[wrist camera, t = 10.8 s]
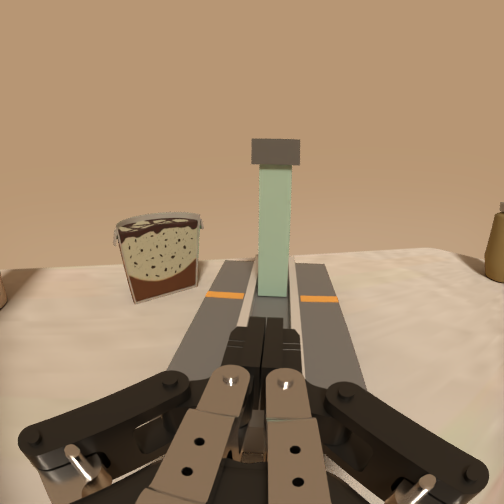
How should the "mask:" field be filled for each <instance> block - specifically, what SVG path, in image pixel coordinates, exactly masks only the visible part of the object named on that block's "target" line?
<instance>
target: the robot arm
mask: <svg viewBox="0 0 504 504" xmlns="http://www.w3.org/2000/svg"><path fill="white" fill-rule="evenodd" d="M6 301H7V296H6V292H5V289H4V285H3V281H2V278H1V273H0V308H2V307H3V306H4V305H5V303H6ZM260 392H261V398H260ZM259 400H260V410H264V425H263V462H258V463H249V464H247V463H242V462H241V457H242V453H243V450H244V446H245V442H246V438H247V434H248V430H249V426H250V420H251V417H252V411H253V410H258V409H259ZM158 416H161V417H159V418H157V419H155V420H153V421H151V422H149V423H147V424H145V425H143V426H141V427H139V428H137V427H138V426H140V425H142V424H144V423H146V422H148V421H150V420H152V419H154V418H156V417H158ZM135 428H137V429H135ZM18 446H19V448H20V450H21V451H22V452H23V453H24V455H25V456H26V457H27V458H28V459H29V460H30V462H31V464H32V465H33V466H34V467H35V468H36V470H37V471H38V472H39V475H40V477H41V480H42V482H43V485H44V487H45V489H46V492H47V494H48V496H49V498H50V501H51V503H52V504H370V503H369V502H368V501H366V500H365V499H364V498H363V497H362V496H361V495H359V494H358V493H357V492H356V491H355V490H354V489H352V488H351V487H350V486H349V485H348V484H347V483H346V482H344V481H343V480H342V479H340V478H339V477H337V476H336V475H334V474H332V473H330V472H327V471H326V469H325V463H324V457H323V453H324V454H326V455H327V456H328V457H329V458H330V459H331V460H333V461H334V462H335V463H336V464H337V465H338V466H340V467H341V468H342V469H343V470H344V471H346V472H347V473H348V474H349V475H351V476H352V477H353V478H354V479H356V480H357V481H358V482H359V483H361V484H362V485H363V486H364V487H366V488H367V489H368V490H370V491H371V492H372V493H374V494H375V495H376V496H378V497H379V498H380V499H382V500H383V501H384V502H385V503H384V504H467V503H468V502H469V501H470V500H471V499H472V498H474V497H475V496H476V495H477V494H478V493H479V492H480V491H482V490H483V489H484V488H485V486H486V485H487V483H488V480H489V471H488V469H487V467H486V465H485V464H484V463H483V462H481V461H480V460H478V459H476V458H474V457H473V456H471V455H469V454H467V453H466V452H464V451H462V450H460V449H459V448H457V447H455V446H453V445H452V444H450V443H448V442H447V441H445V440H443V439H442V438H440V437H438V436H437V435H435V434H433V433H432V432H430V431H428V430H427V429H425V428H424V427H422V426H420V425H419V424H417V423H416V422H414V421H412V420H411V419H409V418H408V417H406V416H404V415H403V414H401V413H400V412H398V411H397V410H395V409H393V408H392V407H390V406H389V405H387V404H386V403H384V402H383V401H381V400H380V399H378V398H377V397H375V396H374V395H372V394H371V393H369V392H368V391H366V390H365V389H363V388H362V387H360V386H359V385H357V384H355V383H352V382H347V381H342V382H336V383H334V384H332V385H330V386H329V387H328V389H326V388H321V387H318V386H315V385H312V384H311V383H309V382H308V381H307V380H306V379H305V378H304V376H303V373H302V360H301V345H300V335H299V334H298V333H297V331H296V330H295V329H283V318H280V317H267V324H266V317H257V316H250V317H249V322H248V326H247V327H242V326H237V327H236V328H235V329H234V330H233V331H232V332H231V333H230V336H229V341H228V343H227V347H226V350H225V353H224V356H223V360H222V363H221V366H220V367H219V368H217V369H216V370H214V371H213V373H212V375H211V377H209V378H207V379H202V380H193V381H189V378H188V377H187V376H186V375H185V374H184V373H182V372H179V371H174V370H169V371H164V372H161V373H159V374H156V375H154V376H152V377H150V378H148V379H145V380H143V381H141V382H139V383H137V384H134V385H132V386H130V387H127V388H125V389H123V390H121V391H118V392H116V393H114V394H111V395H109V396H106V397H104V398H102V399H99V400H97V401H94V402H92V403H89V404H87V405H84V406H82V407H79V408H77V409H74V410H72V411H69V412H66V413H64V414H61V415H58V416H56V417H53V418H50V419H47V420H45V421H42V422H39V423H36V424H33V425H30V426H28V427H26V428H25V429H23V430H22V431H21V433H20V434H19V437H18ZM165 453H166V455H165V457H164V459H162V460H159V461H156V462H154V463H152V464H150V465H148V466H146V467H144V468H142V469H141V470H139V471H137V472H135V473H133V474H131V475H129V476H127V477H126V478H124V479H122V480H120V481H118V482H116V483H114V484H112V480H113V479H116V478H118V477H120V476H122V475H124V474H126V473H129V472H131V471H133V470H135V469H137V468H139V467H141V466H143V465H145V464H147V463H149V462H151V461H152V460H154V459H156V458H158V457H160V456H162V455H164V454H165Z"/></svg>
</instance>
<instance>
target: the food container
mask: <svg viewBox="0 0 504 504" xmlns="http://www.w3.org/2000/svg"><path fill="white" fill-rule="evenodd" d="M199 229H204V227H203V223H202V219H200V215H199V214H195V213H186V212H166V213H154V214H146V215H140V216H136V217H132V218H128V219H125V220H122V221H120V222H119V223H117V225H116V229H115V231H114V240H113V244H114V246H116V239H118V243H119V247H120V251H121V256H122V260H123V264H124V268H125V272H126V276H127V280H128V284H129V288H130V291H131V295H132V298H133V302H134V303H135V304H138V303H142V302H145V301H149V300H152V299H156V298H159V297H163V296H166V295H170V294H173V293H177V292H180V291H184V290H187V289H190V288H194V287H197V279H198V250H199Z"/></svg>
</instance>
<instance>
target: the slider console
mask: <svg viewBox="0 0 504 504" xmlns="http://www.w3.org/2000/svg"><path fill="white" fill-rule="evenodd" d="M250 316H257V317H266V324H267V317H280V318H283V329H295V330H296V331H297V333H298V334H299V335H300V345H301V360H302V373H303V376H304V378H305V379H306V380H307V381H308V382H309V383H311V384H312V385H315V386H318V387H321V388H326V389H328V387H329V386H330V385H332V384H334V383H336V382H342V381H347V382H352V383H355V384H357V385H359V386H360V387H362V388H363V389H365V390H366V391H367V389H366V385H365V382H364V378H363V375H362V372H361V369H360V365H359V362H358V359H357V356H356V353H355V350H354V347H353V343H352V340H351V337H350V334H349V331H348V328H347V325H346V323H345V320H344V317H343V314H342V311H341V308H340V305H339V301H338V298H337V296H336V294H335V291H334V288H333V286H332V283H331V280H330V278H329V275H328V272H327V270H326V267H325V264H307V263H295V260H294V256H289V260H288V279H287V296H286V297H279V296H258V255H256V257H255V260H254V261H229V260H225V262H224V264H223V265H222V267H221V269H220V271H219V273H218V275H217V276H216V278H215V280H214V282H213V284H212V286H211V288H210V289H209V291H208V292H207V294H206V297H205V299H204V301H203V302H202V304H201V306H200V308H199V310H198V312H197V314H196V315H195V317H194V319H193V321H192V323H191V325H190V327H189V329H188V331H187V332H186V334H185V336H184V338H183V340H182V342H181V344H180V346H179V348H178V349H177V351H176V353H175V355H174V357H173V359H172V361H171V363H170V365H169V367H168V369H167V371H169V370H174V371H179V372H182V373H184V374H185V375H186V376H187V377H188V378H189V381H193V380H202V379H207V378H209V377H211V375H212V373H213V371H214V370H216V369H217V368H219V367H220V366H221V363H222V360H223V356H224V353H225V350H226V347H227V343H228V341H229V336H230V333H231V332H232V331H233V330H234V329H235V328H236V327H237V326H242V327H247V326H248V322H249V317H250ZM260 398H261V392H260ZM159 417H161V416H158V417H156V418H154V419H152V420H150V422H151V421H153V420H155V419H157V418H159ZM263 425H264V410H260V400H259V409H258V410H253V411H252V417H251V420H250V426H249V430H248V434H247V438H246V442H245V446H244V450H243V452H254V453H263ZM323 454H324V453H323Z"/></svg>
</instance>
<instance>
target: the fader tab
mask: <svg viewBox="0 0 504 504" xmlns="http://www.w3.org/2000/svg"><path fill="white" fill-rule="evenodd" d="M252 164H260V173H259V176H260V178H259V179H260V180H259V254H258V296H279V297H286V296H287V279H288V260H289V238H290V213H291V178H292V165H300V140H294V139H252Z"/></svg>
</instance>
